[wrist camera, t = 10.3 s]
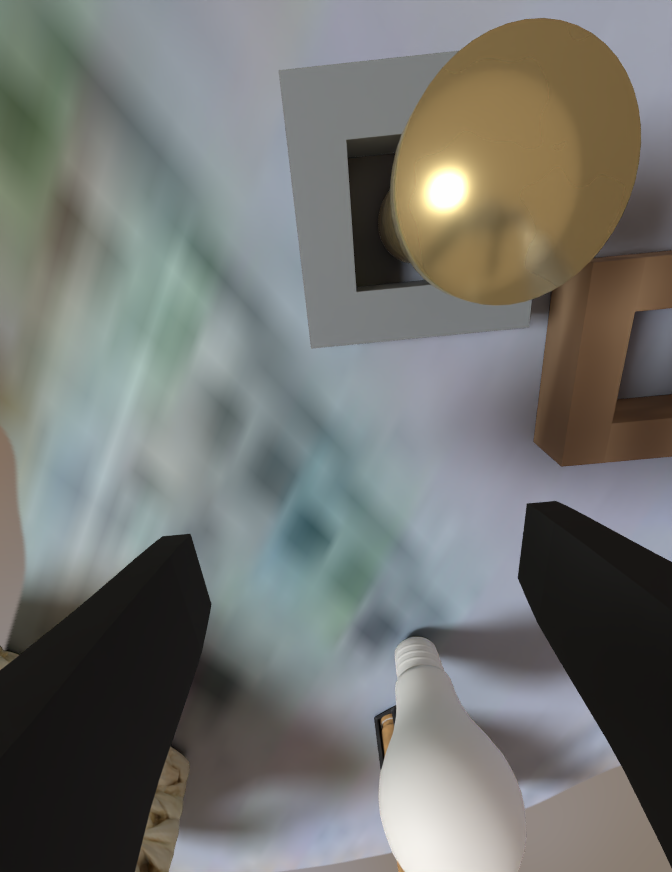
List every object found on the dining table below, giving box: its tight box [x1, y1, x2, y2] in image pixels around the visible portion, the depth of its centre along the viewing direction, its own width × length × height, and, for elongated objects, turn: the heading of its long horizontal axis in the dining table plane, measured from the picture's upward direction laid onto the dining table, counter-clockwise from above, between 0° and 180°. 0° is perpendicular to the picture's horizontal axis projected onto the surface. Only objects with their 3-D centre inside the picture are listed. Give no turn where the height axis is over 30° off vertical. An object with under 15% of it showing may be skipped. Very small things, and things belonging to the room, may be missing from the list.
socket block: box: [279, 51, 532, 349], centre depth 14 cm, size 8×8×2 cm
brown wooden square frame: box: [533, 250, 672, 467], centre depth 16 cm, size 8×8×2 cm
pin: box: [378, 18, 641, 306], centre depth 11 cm, size 4×4×9 cm
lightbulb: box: [379, 637, 527, 872], centre depth 20 cm, size 6×6×11 cm
